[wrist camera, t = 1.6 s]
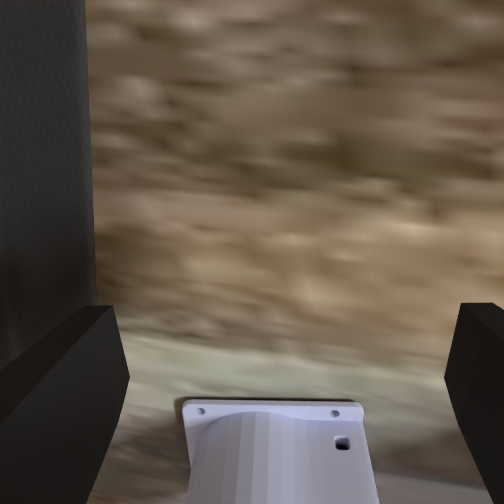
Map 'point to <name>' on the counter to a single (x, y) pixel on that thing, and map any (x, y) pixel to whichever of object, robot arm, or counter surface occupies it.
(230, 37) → the counter surface
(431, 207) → the counter surface
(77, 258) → the barrier
